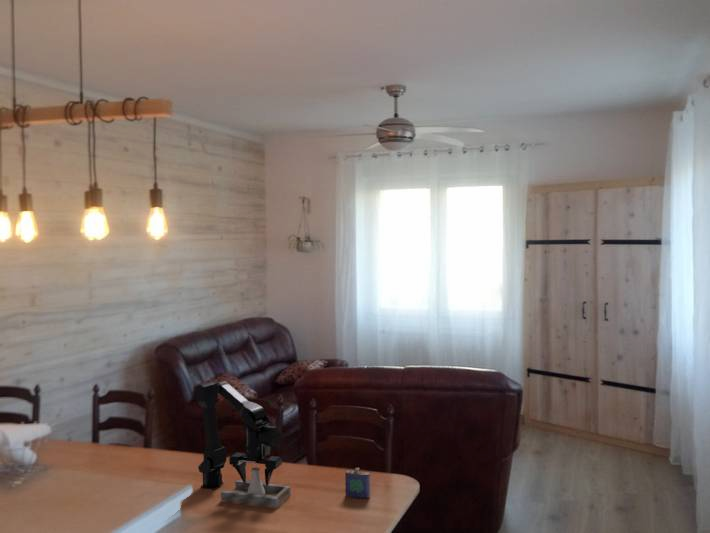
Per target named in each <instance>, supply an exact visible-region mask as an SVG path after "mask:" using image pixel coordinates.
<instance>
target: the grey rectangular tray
mask: <svg viewBox="0 0 710 533" xmlns="http://www.w3.org/2000/svg"><path fill="white" fill-rule="evenodd" d="M250 482H251V480H250V481H248V480H246V482H245V483H243V481H242V479H240V480H239V479H237V480H235V483H234V484H235V487H234V488H233V489H232V490H231V491H230V490H229V491H228V490H222V491H221V492H220V499H221V500H220V502H222V503H228V504H237V505H243V506H253V507H260V508H265V509H266V508H267V509H275V510H277V509H278V508H279V507H281V505H283V503H285V502H286V501H287V500H288V499H289V498H290V497H291V496H292V494H291V486H290V485H283V484H275V483H269V484H268V485H267V486H266V482H262V485H263V487H264V490H265V492H266V496H263V495H255V494H247V492H248V489H249V486H250Z"/></svg>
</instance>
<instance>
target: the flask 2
mask: <svg viewBox="0 0 710 533" xmlns="http://www.w3.org/2000/svg"><path fill="white" fill-rule="evenodd" d="M344 474H345V476H344V477H345V478H344V479H345V483H344V484H345V487H344V488H345V489H344V490H345V497H347V498H351V499H364V500H366V499H367V500H368V499H370V498H371V487H370V486H371V484H370V483H371V482H370V481H371V479H370V477H371V476H370V474H371V473H369V472H363V471H361V472H360V467H355V470H352V469H349V470H346V471H345V473H344Z"/></svg>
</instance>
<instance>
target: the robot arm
mask: <svg viewBox="0 0 710 533" xmlns="http://www.w3.org/2000/svg"><path fill="white" fill-rule="evenodd" d="M194 396H195V399H196V402H197V404H198V405H199V406H200V407H201V411H202V412H201V413H202V418H203V426H204V427H203V428H204V429H203V430H204V436H205V444H206V446H205V449H204V450H203V451H204V452H203V461H201V463H200V464H199V465H198V466H197V467H198V472H199V473H201V474H202V484H201V486H200V488H201V489H206V490H207V489H209V490H217V489H218V488H219V487H220V486H222V485H224V482H223V473H222V469H224V468H225V464H226V463H227V458H228V453H227V447H226V446H223V444H221V441H220V435H219V427H218V418H217V410H216V404H217V401H218V399H219V396H221V397H222V398H223V399H225V401H226V402H228V403H229V404H230V405H231V406H232V407H233V408H235V409H236V411H238V412H239V416H240V418H241V419H242V420H243V423H244V425H242V427H241V428H242V429H243V430H246V445H245V448H244V449H245V450H246V453H247V454H246V453H245V452H238V451H237V452H235V453H234V454H232V455H231V456H230V457H229V459H228V462H229V463H228V464H229V465H231V466H232V467H233V468H234V469H235V470H236V472H237V473H238V475H239V477H240V478H241V479H240V480H242V481H243V483H245V482H246V481H247V474H246V473H247V470H246V466H247V463H249V464H259V465H264V467H265V469H264V480H265V482H264V483H266V486H267V485H268V484H270V480H271V477H272V476H273V475H272V474H273V472H274V470H277V469H278V468H279V467H280V466H282V464H283V462H282V461H283V459H282V458H281V456H275V455H271V448H272V447H274V448H275V447H277V446H279V444H280V443H281V440H282V434H281V431H280V430H278V427H277V426H275V425H273V426H272V422H271V421H270V418H269V416H268V415H267V413H266V411H265V409H264V407H263V406H261V405H260V404H258V403H256V402H253V401H249V400H248V399H247V398H246V397H245V396H243V395H242V394H241V393H240V392H238V391H237V390H236V389H235V388H234V387H233V386H231V385H230V383H229V382H228V381H227V380H222V381H218V382H216V383H215V382H213V381H211V382H207V383H204V384H203V383H202V384H198V386H196V388H195V389H194ZM270 455H271V456H270ZM267 456H270V457H268V458H265V457H267Z"/></svg>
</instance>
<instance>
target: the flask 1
mask: <svg viewBox="0 0 710 533" xmlns="http://www.w3.org/2000/svg"><path fill="white" fill-rule="evenodd" d="M260 469H261V467H252V468H251V469H250V471H251V480H250V486H249V489H248V492H247V494H255V495H263V496H266V492H265V490H264V487H263V485H262V483H263V482H262V480H261V477H260V476H261V475H260Z"/></svg>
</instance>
